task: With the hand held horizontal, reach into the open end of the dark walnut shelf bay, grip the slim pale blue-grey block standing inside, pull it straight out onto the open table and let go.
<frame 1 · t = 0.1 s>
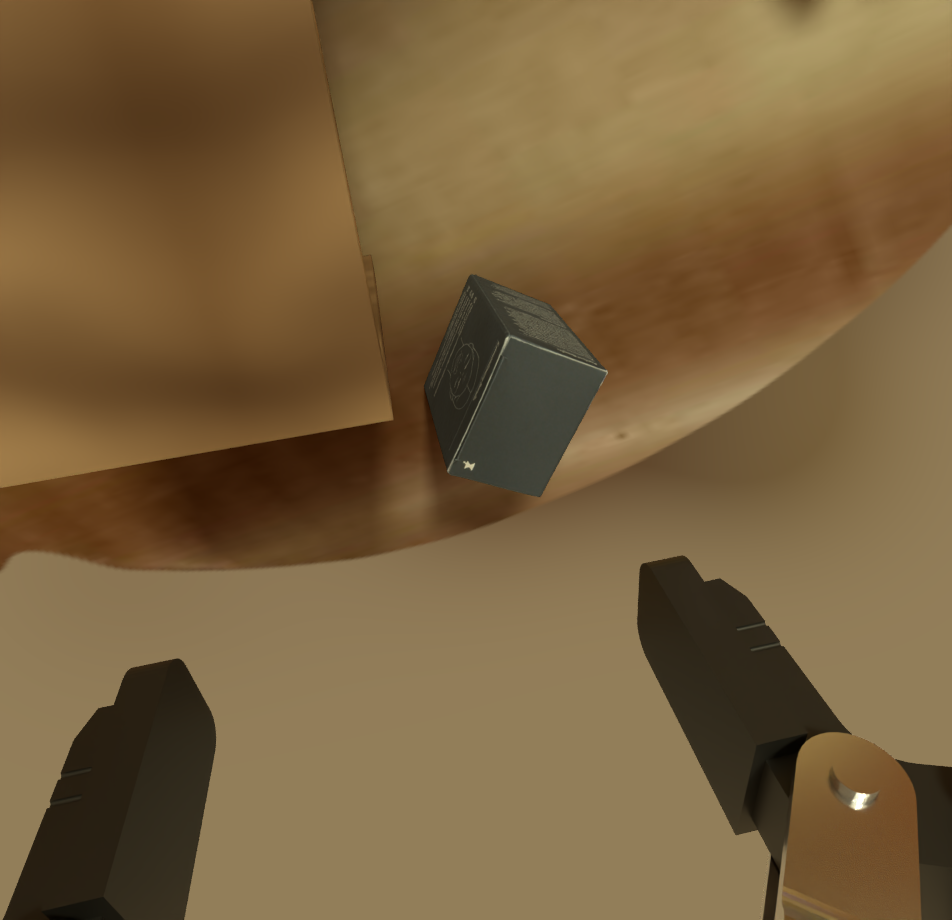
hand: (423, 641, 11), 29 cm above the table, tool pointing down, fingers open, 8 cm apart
shelf: (180, 75, 30), on the table
box: (485, 343, 40), on the table
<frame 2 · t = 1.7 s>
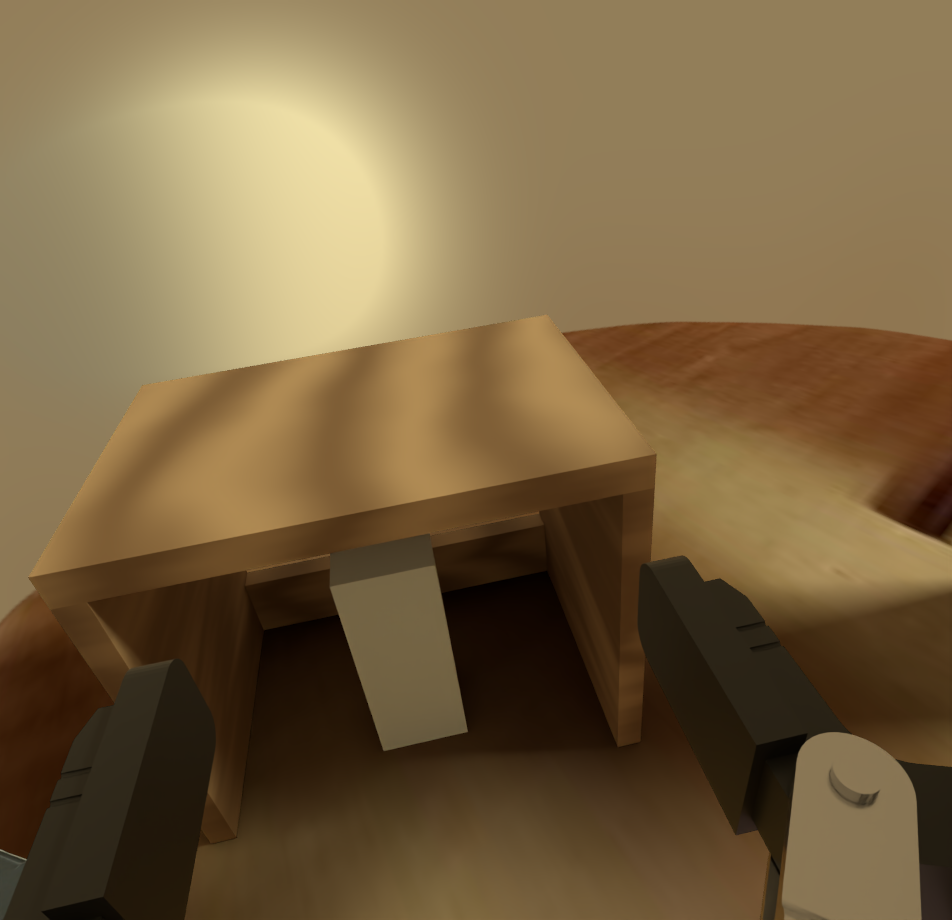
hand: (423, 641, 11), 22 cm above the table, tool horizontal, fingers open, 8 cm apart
block: (421, 705, 35), on the table
shelf: (417, 672, 37), on the table
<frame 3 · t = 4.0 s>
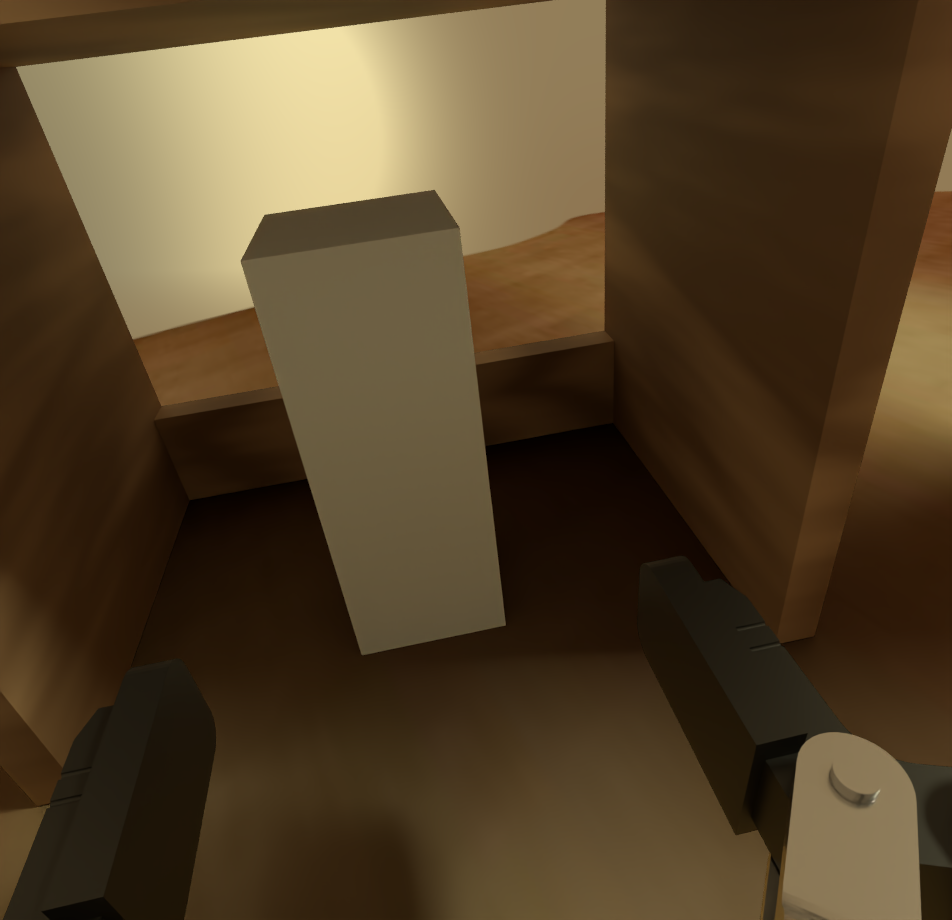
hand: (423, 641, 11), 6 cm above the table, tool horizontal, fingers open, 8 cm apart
block: (426, 589, 22), on the table
shelf: (420, 546, 23), on the table
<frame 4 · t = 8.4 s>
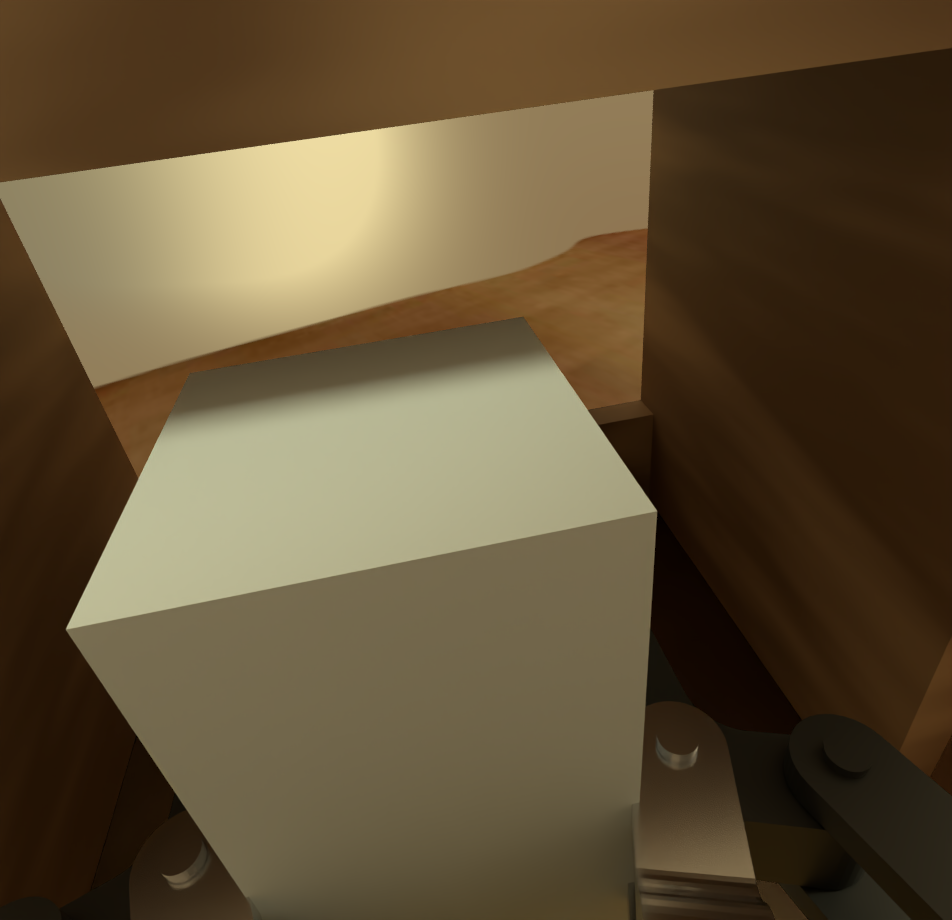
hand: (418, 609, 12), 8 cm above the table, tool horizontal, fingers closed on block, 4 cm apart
shelf: (441, 664, 20), on the table
when the fingers open (7 cm above the table, at t = 10.7 s): block stays where it is, on the table.
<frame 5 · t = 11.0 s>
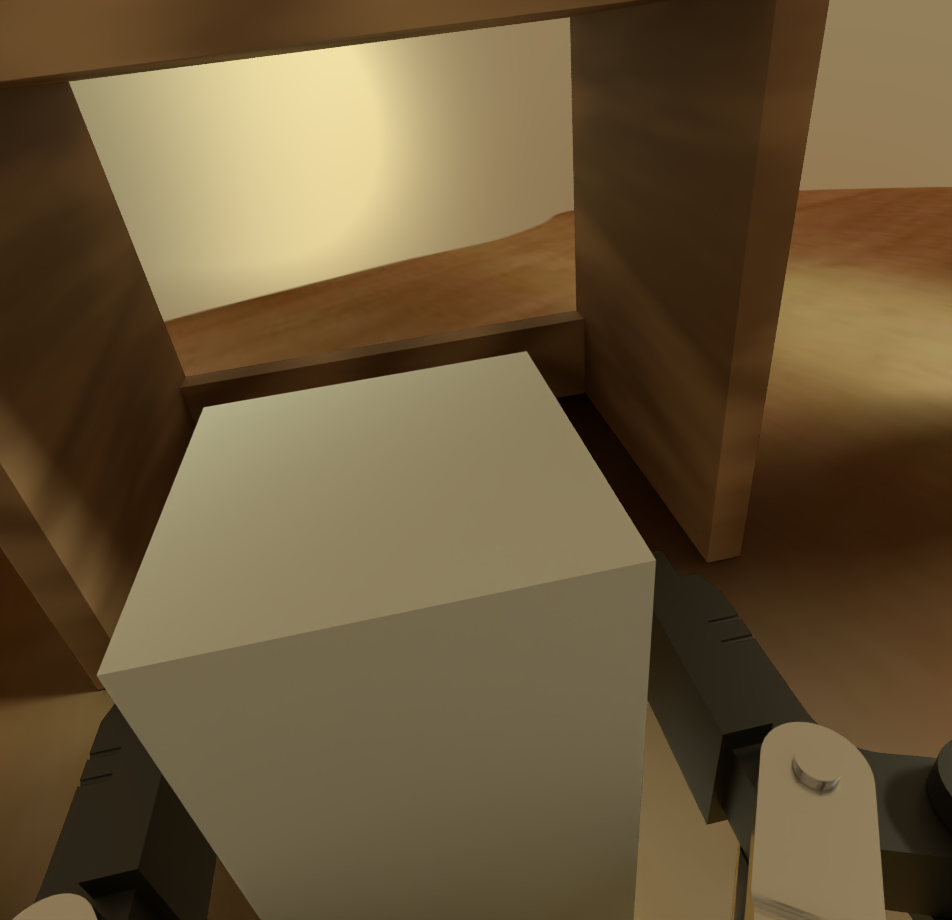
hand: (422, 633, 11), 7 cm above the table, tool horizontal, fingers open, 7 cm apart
shelf: (413, 494, 27), on the table
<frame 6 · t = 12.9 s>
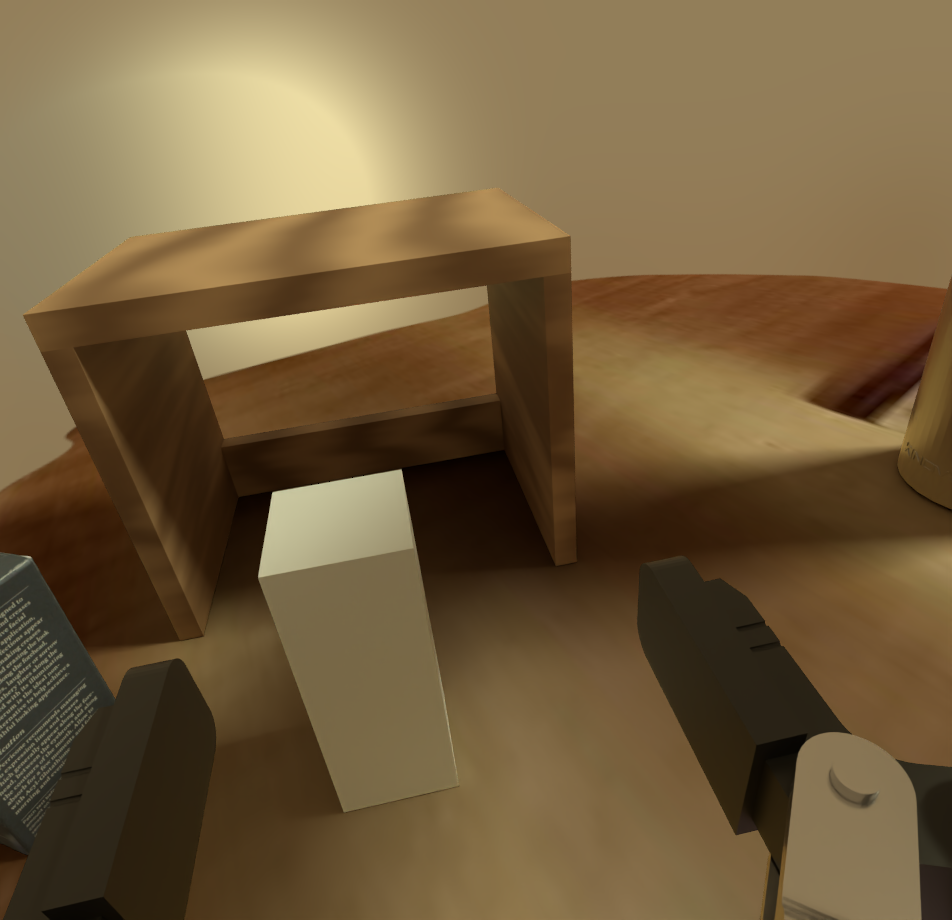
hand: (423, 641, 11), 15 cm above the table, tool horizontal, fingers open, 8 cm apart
block: (397, 747, 27), on the table
shelf: (378, 521, 40), on the table
box: (26, 772, 28), on the table
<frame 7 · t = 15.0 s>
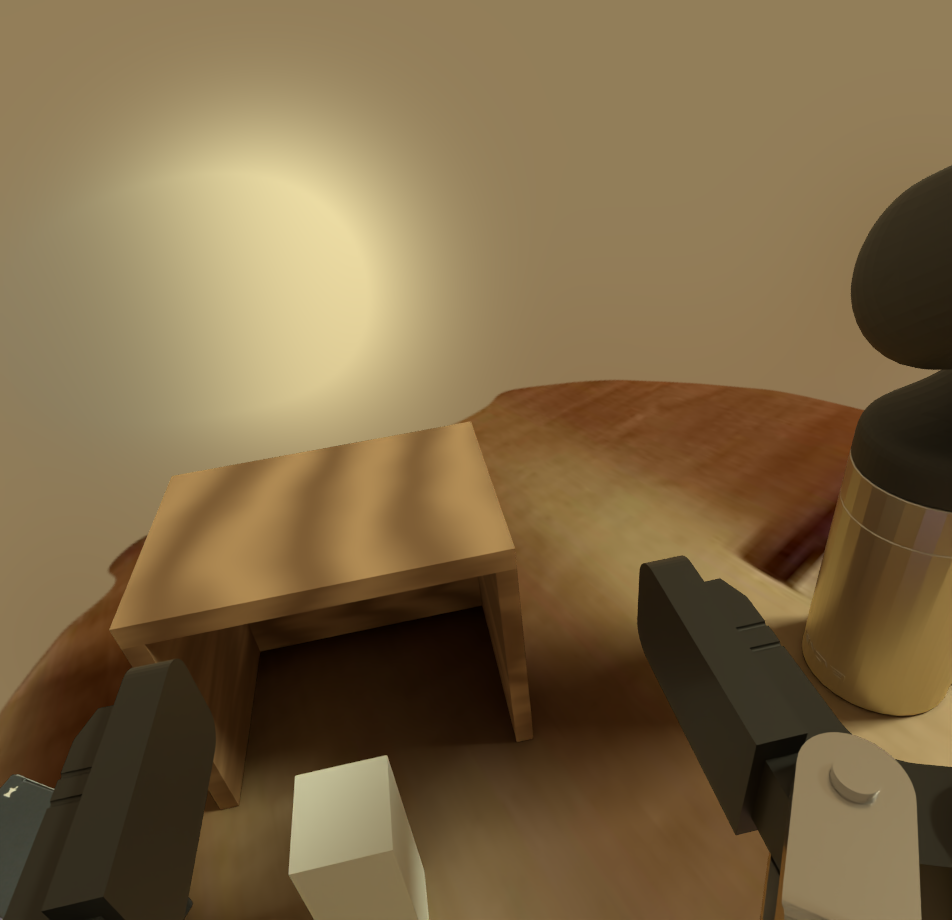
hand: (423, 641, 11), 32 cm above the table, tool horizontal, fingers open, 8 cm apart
shelf: (375, 686, 49), on the table
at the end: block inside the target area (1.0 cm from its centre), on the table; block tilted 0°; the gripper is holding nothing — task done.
